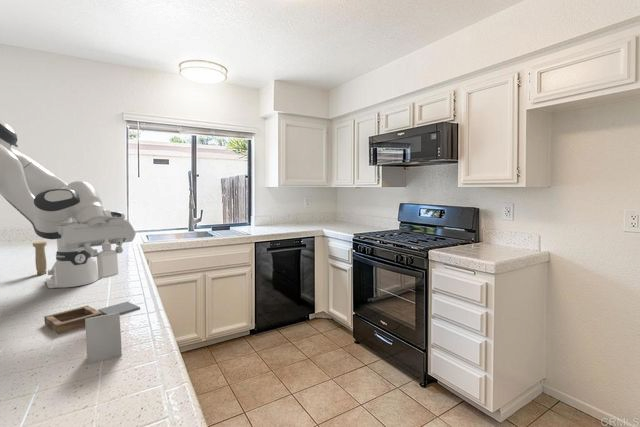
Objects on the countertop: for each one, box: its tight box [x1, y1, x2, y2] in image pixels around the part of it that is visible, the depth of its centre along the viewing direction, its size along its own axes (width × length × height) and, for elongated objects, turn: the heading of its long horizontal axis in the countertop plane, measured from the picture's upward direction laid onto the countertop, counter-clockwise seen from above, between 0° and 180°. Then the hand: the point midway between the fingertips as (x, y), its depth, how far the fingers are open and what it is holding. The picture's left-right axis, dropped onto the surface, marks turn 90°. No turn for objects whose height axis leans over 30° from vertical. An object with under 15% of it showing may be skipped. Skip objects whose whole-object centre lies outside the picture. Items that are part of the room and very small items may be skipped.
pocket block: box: [43, 305, 103, 335], centre depth 98 cm, size 11×11×2 cm
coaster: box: [97, 301, 141, 316], centre depth 108 cm, size 9×9×1 cm
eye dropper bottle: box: [96, 239, 119, 279], centre depth 104 cm, size 4×6×12 cm
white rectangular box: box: [84, 313, 123, 365], centre depth 78 cm, size 4×7×10 cm, turn 125°
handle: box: [32, 240, 48, 276], centre depth 152 cm, size 5×6×15 cm
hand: (108, 253), depth 104 cm, fingers closed on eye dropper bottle, 6 cm apart
